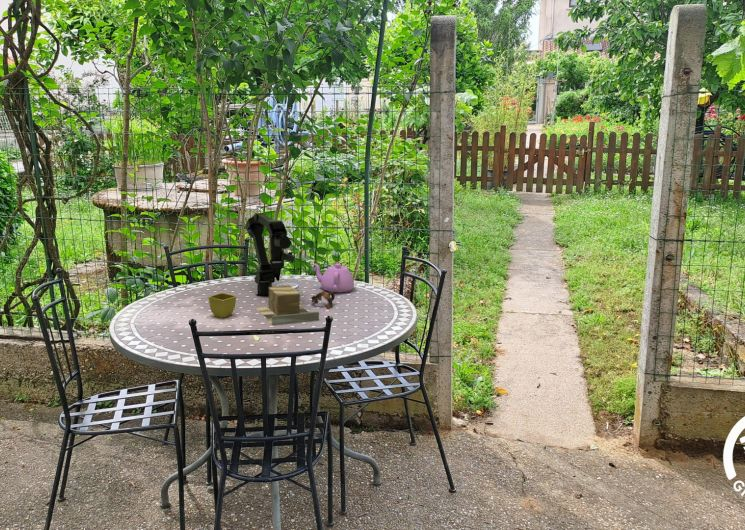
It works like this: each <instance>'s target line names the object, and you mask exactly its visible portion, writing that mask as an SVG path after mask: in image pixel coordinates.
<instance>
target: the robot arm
mask: <svg viewBox="0 0 745 530" xmlns="http://www.w3.org/2000/svg"><path fill="white" fill-rule="evenodd" d="M245 228H246V231H247V234H248V235H249V236H250V237H251V238H252V242H253V247H254V250H255V254H256V259H257V263H258V266H257V270H256V275H255V277H254V283H255V284H256V285H257V293H255V296H259V297H265V298H269V287H274V286H273V284H275V282H276V281H277V282H278V281H280V277H281V271H282V270H283V268H285V261H286V262H290V263H291V264H293V263H294V262H295V259H296V255H293V252H292V251H288V252H284V250H287V249H289V248H290V247H291V246H292V241H291V239H290V238H289V237H288V230H287V228H286V227H285V224H284V222H283V221H282V220H280V219H279V220H278V219H273V218H271V217H269V216H268V215H267V214H266V213H265V212H258V213H257V212H256V213H254V214H253V215H252V216H251V217H249V218H248V219H247V221H246V223H245ZM265 228H266V232H267V233H268V234H269V235H268V238H269V246H270V247H269V248H270V249H269V251H270V252H269V253H270V262H269V259H268V256H267V254H268V253H267V250H266V247H265V243H264V242H265V241H264V238H263V234H264V230H265Z"/></svg>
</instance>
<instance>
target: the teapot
mask: <svg viewBox="0 0 745 530" xmlns="http://www.w3.org/2000/svg"><path fill="white" fill-rule="evenodd" d="M312 264H313V266H314V267H315V270H316V280H317V281H318V282H319V283H320V286H321V287H322V289H323V291H325V292H328V293H329V292H333V293H347V292H350V291H351V290H352V289H353V288H354V286H355V281H354V277H353V275H352V273H351V271H350V269H349V267H347V266H344V265H342V263H334V265H330V266H328V267H327V268H326V269H325V271H324V273H323V274H322V273H321V269H320V268H321V267H320V265H318V263H314V262H313V263H312Z"/></svg>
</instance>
